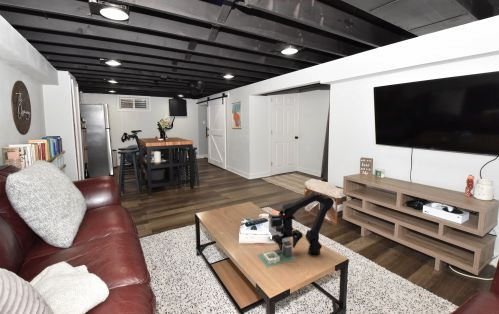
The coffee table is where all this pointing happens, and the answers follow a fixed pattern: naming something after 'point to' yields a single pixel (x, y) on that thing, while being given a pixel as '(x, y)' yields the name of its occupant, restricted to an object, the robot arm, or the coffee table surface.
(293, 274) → the coffee table surface
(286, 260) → the circuit board
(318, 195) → the robot arm
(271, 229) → the cracker box
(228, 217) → the coffee table surface
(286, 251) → the black plug
